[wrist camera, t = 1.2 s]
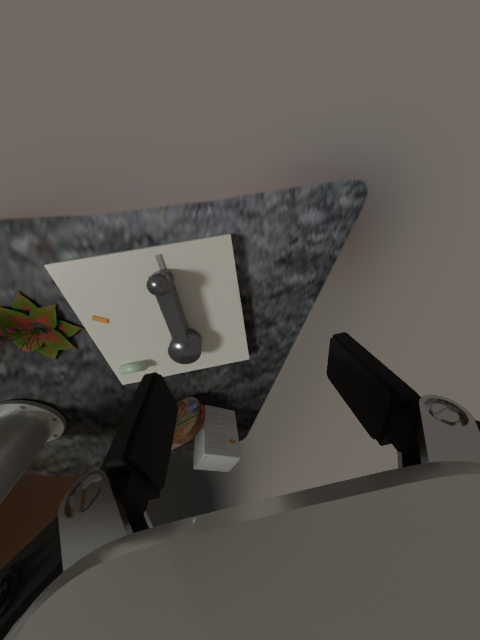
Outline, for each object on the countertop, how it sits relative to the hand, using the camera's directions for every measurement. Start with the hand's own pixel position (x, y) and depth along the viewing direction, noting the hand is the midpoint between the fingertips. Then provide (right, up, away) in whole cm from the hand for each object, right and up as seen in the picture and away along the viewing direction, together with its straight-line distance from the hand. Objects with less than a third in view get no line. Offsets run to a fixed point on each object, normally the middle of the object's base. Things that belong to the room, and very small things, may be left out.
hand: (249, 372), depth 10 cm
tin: (-15, -17, +32) cm, 39 cm away
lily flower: (-32, +2, +19) cm, 38 cm away
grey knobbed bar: (-10, +4, +18) cm, 21 cm away
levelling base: (-12, +4, +21) cm, 24 cm away
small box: (-6, -20, +35) cm, 41 cm away
